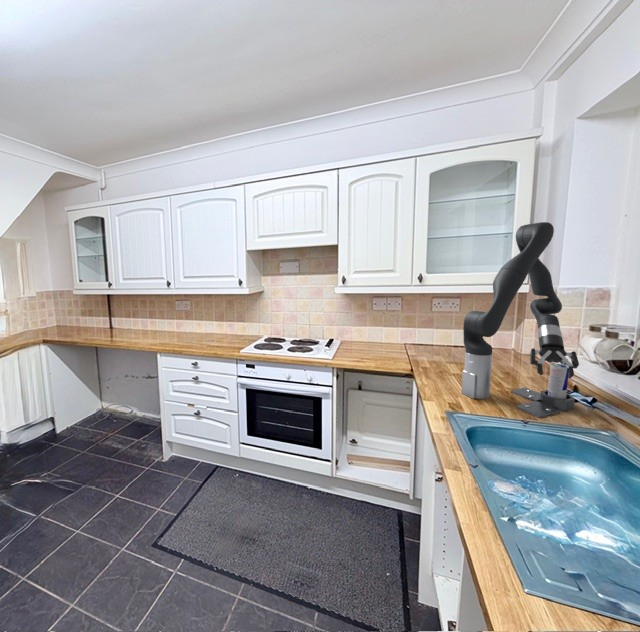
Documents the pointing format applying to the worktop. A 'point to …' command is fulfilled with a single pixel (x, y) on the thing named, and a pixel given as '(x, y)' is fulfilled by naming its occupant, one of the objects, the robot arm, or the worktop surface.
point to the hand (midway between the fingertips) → (555, 375)
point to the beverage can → (558, 381)
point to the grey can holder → (543, 403)
